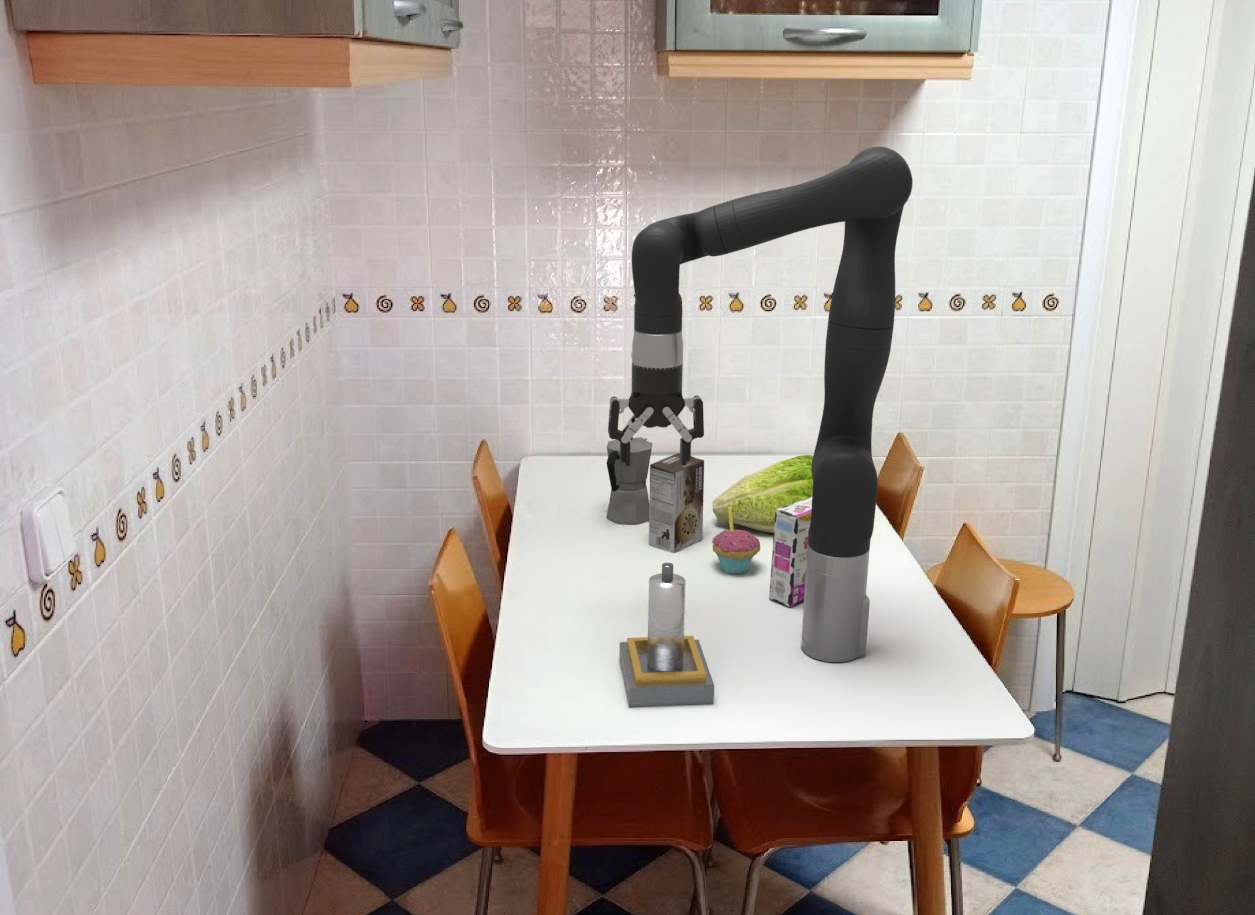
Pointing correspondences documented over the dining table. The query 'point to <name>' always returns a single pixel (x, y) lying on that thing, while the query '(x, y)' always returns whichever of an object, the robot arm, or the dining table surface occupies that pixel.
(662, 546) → the coffee box
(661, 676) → the grey square tray
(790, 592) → the candy bar box
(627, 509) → the coffeepot
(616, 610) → the dining table surface
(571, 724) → the dining table surface
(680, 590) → the spout can
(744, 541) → the cupcake
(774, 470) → the lettuce
